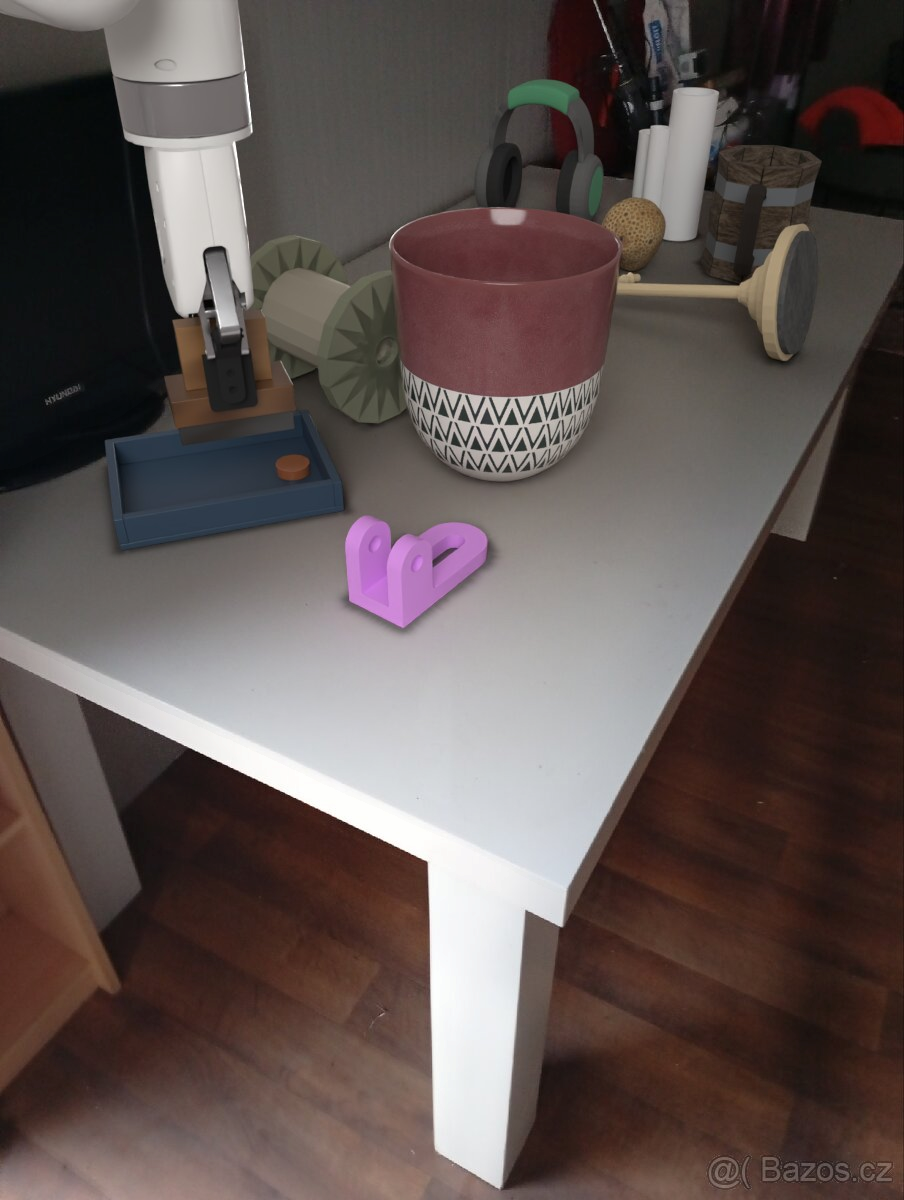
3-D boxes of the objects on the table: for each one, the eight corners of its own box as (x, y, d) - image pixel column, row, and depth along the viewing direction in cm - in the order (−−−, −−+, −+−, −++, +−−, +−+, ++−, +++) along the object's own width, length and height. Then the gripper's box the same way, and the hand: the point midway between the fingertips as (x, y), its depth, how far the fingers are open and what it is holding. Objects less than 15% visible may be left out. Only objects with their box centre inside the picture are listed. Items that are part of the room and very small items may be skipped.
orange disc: (280, 483, 89) (279, 473, 88) (273, 466, 91) (272, 457, 91) (313, 477, 90) (312, 468, 89) (306, 461, 92) (305, 452, 91)
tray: (121, 550, 81) (113, 520, 79) (111, 468, 92) (104, 439, 90) (344, 510, 86) (341, 481, 84) (310, 436, 97) (307, 409, 95)
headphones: (602, 218, 155) (616, 80, 143) (582, 237, 147) (594, 93, 135) (495, 204, 161) (499, 71, 149) (469, 222, 153) (471, 83, 141)
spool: (440, 396, 104) (439, 258, 95) (333, 442, 96) (321, 297, 87) (345, 351, 114) (335, 222, 104) (240, 390, 105) (220, 254, 96)
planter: (498, 400, 104) (505, 194, 90) (639, 467, 92) (671, 244, 79) (357, 460, 93) (342, 238, 80) (496, 545, 82) (505, 303, 69)
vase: (702, 231, 150) (724, 89, 137) (687, 244, 145) (710, 98, 132) (633, 220, 154) (650, 82, 142) (618, 233, 149) (633, 90, 137)
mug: (707, 248, 143) (725, 140, 134) (800, 259, 140) (825, 149, 130) (684, 292, 129) (702, 175, 120) (786, 306, 125) (814, 186, 116)
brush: (179, 448, 66) (158, 339, 61) (172, 420, 70) (151, 314, 65) (298, 429, 69) (286, 322, 64) (285, 403, 72) (274, 299, 67)
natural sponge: (614, 285, 131) (622, 210, 125) (583, 265, 138) (590, 192, 131) (670, 277, 134) (681, 203, 128) (638, 257, 140) (646, 186, 134)
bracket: (403, 628, 73) (400, 555, 69) (349, 601, 76) (343, 528, 72) (499, 550, 81) (502, 480, 77) (448, 528, 84) (448, 459, 80)
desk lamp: (829, 214, 111) (531, 219, 132) (729, 259, 86) (380, 256, 107) (816, 343, 118) (534, 328, 139) (720, 419, 93) (393, 387, 114)
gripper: (109, 85, 61) (161, 352, 73) (132, 144, 49) (190, 456, 60) (226, 78, 63) (259, 339, 75) (276, 134, 51) (306, 437, 62)
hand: (228, 389), depth 67 cm, fingers closed on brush, 4 cm apart
